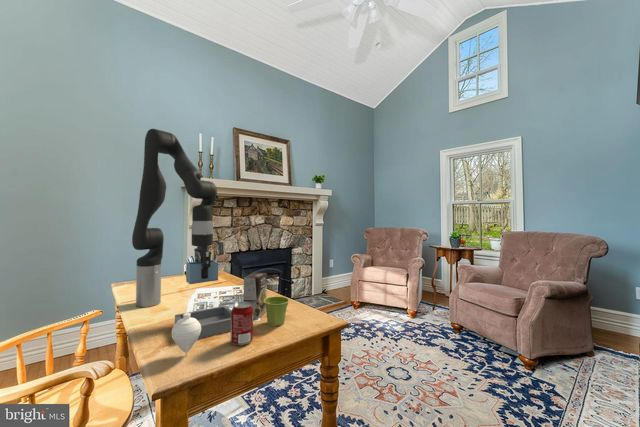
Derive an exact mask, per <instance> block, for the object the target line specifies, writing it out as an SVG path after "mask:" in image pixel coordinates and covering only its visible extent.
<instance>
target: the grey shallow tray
mask: <svg viewBox="0 0 640 427" xmlns="http://www.w3.org/2000/svg"><path fill="white" fill-rule="evenodd" d="M231 310H232V309H231V308H229V307H228V306H227V305H222V306H215V307H209V308H205V309H199V310H194V311H189V312H187V313H190V314H191V315H190V317H191V318H195V319H197V320H198V321H199V323H200V325H201V333H200V335H199V337H198V339H197V340H199V339H203V338H207V337H211V336H214V335H219V334H224V333H227V332H231ZM185 313H186V312H183V313H178V314H174V325H175V324H176V323H177V321H179V320H180V319H183V314H185Z"/></svg>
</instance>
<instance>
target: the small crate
mask: <svg viewBox="0 0 640 427" xmlns="http://www.w3.org/2000/svg"><path fill="white" fill-rule="evenodd" d="M205 264H207V263H205ZM210 265H211V266H210V267H209V268H208V278H207V279H202V278H201V263H199V262H195V261H191V262H186V263H185V266H186V268H185V269H186V270H185V272H186V273H185V274H186V276H185V277H186V278H185V280H186V281H185V282H186V283H188V285H194V284H202V283H208V282H209V283H210V282H216V281H219V262H218V261H217V260H214V259H211V263H210Z"/></svg>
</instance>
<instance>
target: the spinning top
mask: <svg viewBox="0 0 640 427" xmlns="http://www.w3.org/2000/svg"><path fill="white" fill-rule="evenodd" d="M184 313H185V314H183V313H182V314H183V319H180V320H179V321H177V323H176V324H175V323H174V325H173V326H172V329H171V338H172V339H173V341H174V343H175V344H176V346H178V348H179V349H180V350H181V351H182V352H184V353H185V356H186V357H187V356H188V353H189V351H190V350H191V349H192V348H193V346H194V345H195V344H196V342H197V341H198V340H199V339H198V337H199V335H200V333H201V325H200V323H199V321H198V320H197V319H195V318H191V317H190V315H191V314H190V313H188V312H184Z"/></svg>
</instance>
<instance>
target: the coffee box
mask: <svg viewBox="0 0 640 427" xmlns="http://www.w3.org/2000/svg"><path fill="white" fill-rule="evenodd" d="M267 289H268V273H267V272H252V273H250V274H248V275H246V276H244V277H243V296H242V299H243V300H242V302H250V303H251V306H252V308H253V320H255V319H256V321H257V320H259V319H260V318H261V317H262V316H264V314H265V313H267V312H266V306H265V303H264V299H266V298H268V297H267V295H268V294H267V293H268V290H267Z"/></svg>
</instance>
